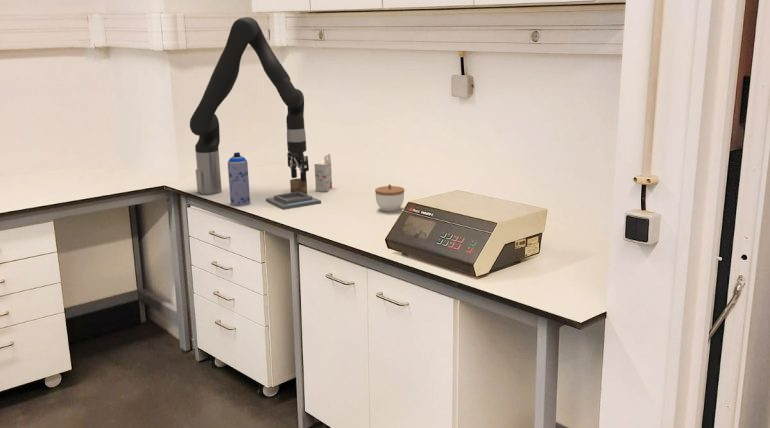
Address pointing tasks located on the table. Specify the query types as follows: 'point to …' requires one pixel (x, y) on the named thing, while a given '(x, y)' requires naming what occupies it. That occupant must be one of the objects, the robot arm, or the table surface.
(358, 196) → the table surface
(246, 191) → the aerosol can
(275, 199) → the holder
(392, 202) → the lidded jar
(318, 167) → the ink cartridge box
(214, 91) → the robot arm
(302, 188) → the block
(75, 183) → the table surface
